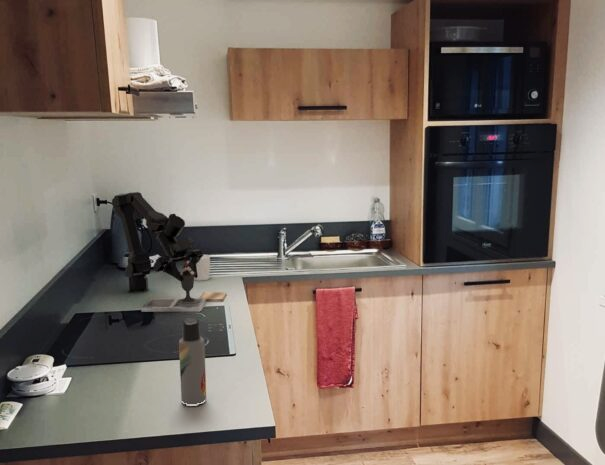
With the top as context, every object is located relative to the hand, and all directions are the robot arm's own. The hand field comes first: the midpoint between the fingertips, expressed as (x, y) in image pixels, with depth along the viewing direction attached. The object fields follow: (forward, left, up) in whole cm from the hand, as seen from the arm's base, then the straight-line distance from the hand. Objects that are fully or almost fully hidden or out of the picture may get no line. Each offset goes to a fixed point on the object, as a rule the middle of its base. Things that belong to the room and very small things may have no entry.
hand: (189, 279), depth 196 cm
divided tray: (-6, +1, -11) cm, 12 cm away
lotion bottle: (+16, -71, -11) cm, 74 cm away
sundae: (-1, +1, -8) cm, 8 cm away
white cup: (-4, +41, -11) cm, 43 cm away
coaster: (+6, +12, -11) cm, 17 cm away
